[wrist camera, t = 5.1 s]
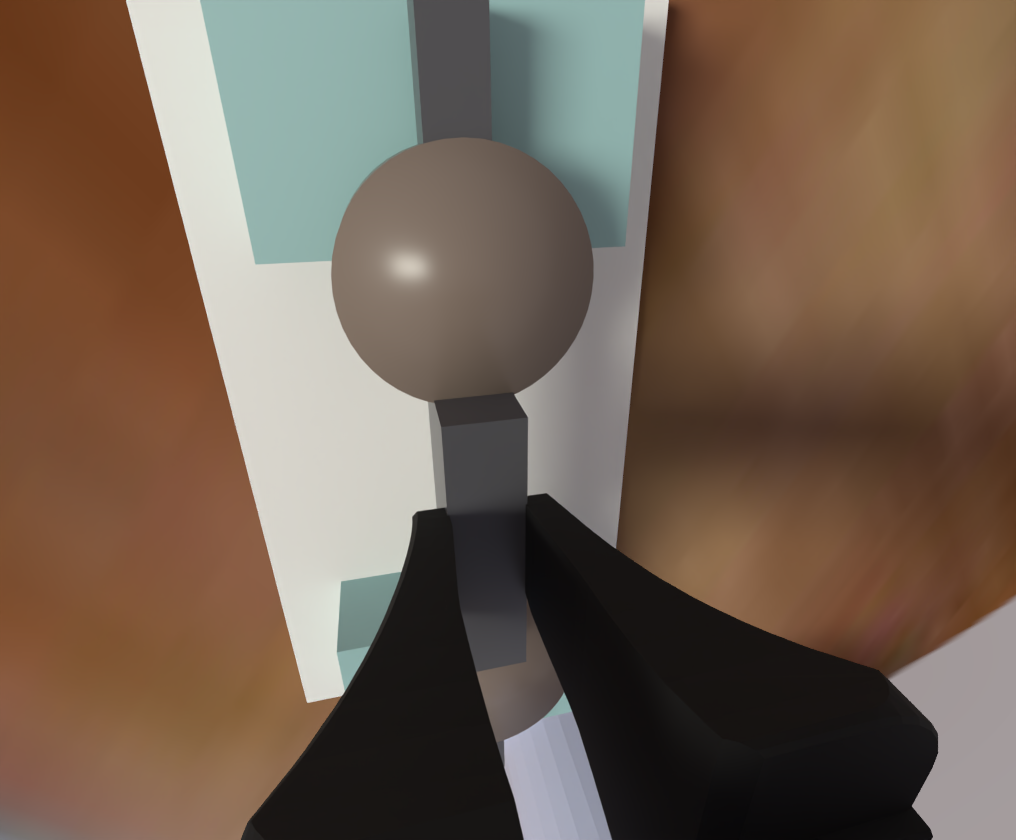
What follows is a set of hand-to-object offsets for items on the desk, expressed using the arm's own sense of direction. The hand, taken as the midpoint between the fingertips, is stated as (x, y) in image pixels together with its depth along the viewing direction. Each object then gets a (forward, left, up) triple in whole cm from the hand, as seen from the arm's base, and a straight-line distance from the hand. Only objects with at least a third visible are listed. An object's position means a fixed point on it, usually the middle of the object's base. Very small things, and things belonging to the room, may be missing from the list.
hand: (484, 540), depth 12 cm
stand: (0, 0, -7) cm, 7 cm away
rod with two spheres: (0, 0, -2) cm, 3 cm away
